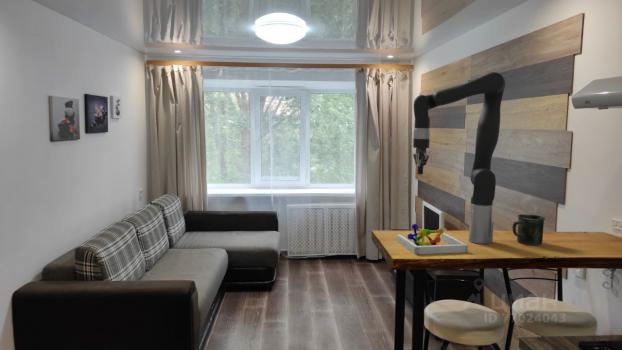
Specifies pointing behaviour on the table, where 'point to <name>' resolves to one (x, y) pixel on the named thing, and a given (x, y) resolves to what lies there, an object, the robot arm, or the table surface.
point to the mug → (529, 229)
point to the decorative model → (424, 233)
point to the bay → (435, 246)
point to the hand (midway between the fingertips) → (420, 174)
